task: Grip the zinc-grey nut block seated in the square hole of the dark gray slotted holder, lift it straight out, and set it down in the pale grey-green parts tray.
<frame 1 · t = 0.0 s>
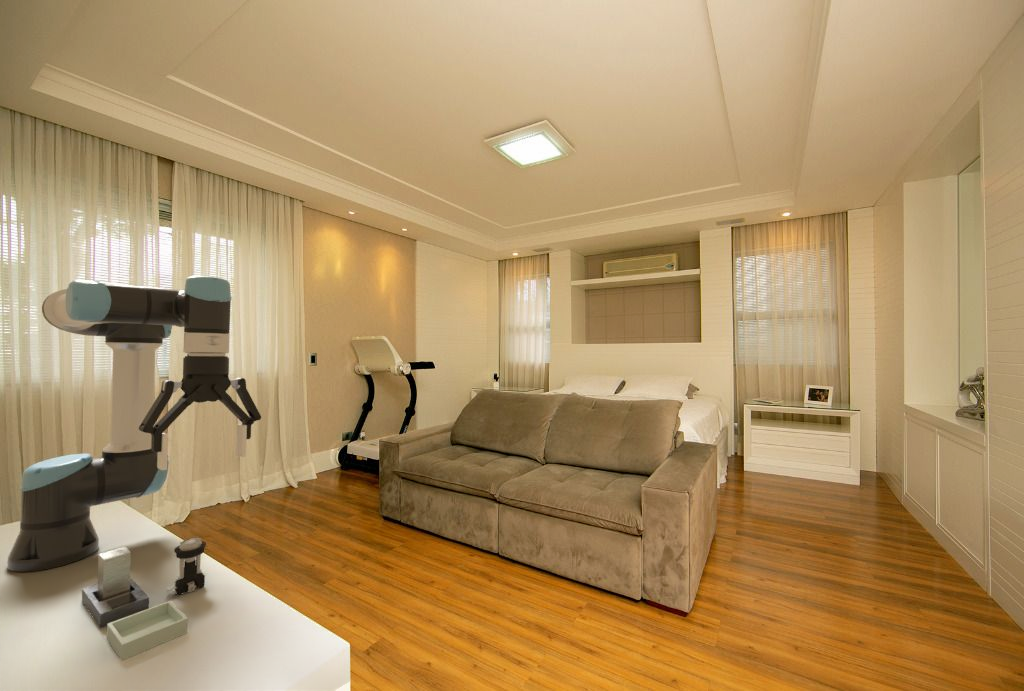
hand: (204, 461, 88), 28 cm above the table, tool pointing down, fingers open, 13 cm apart
parts tray: (147, 635, 78), on the table
push button: (185, 591, 92), on the table
nut block: (113, 604, 87), resting in dark gray slotted holder
dark gray slotted holder: (114, 605, 86), on the table
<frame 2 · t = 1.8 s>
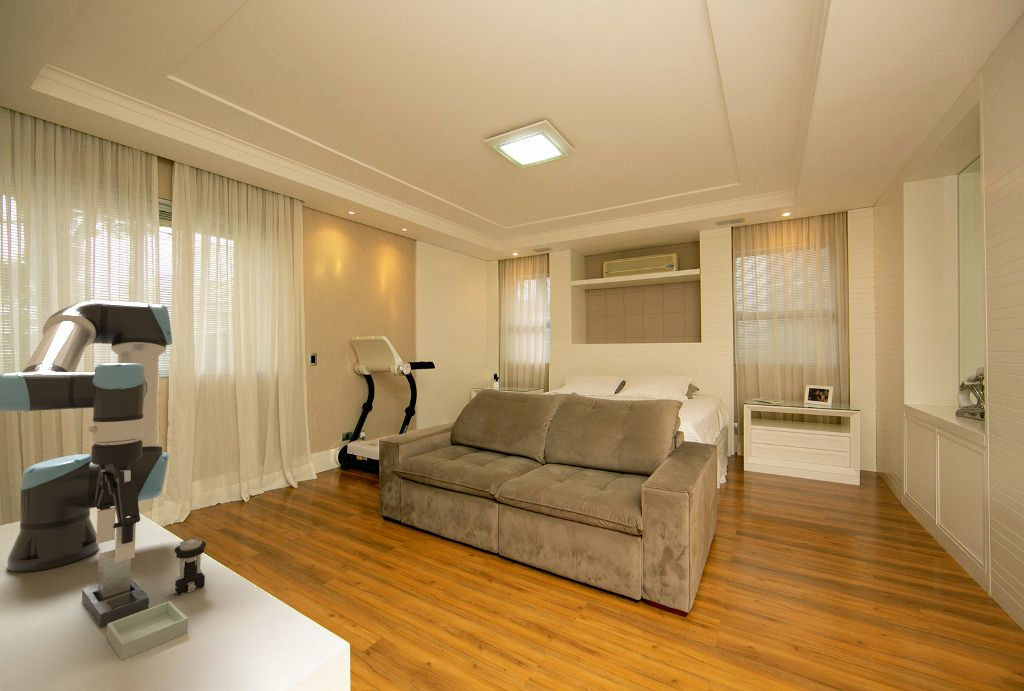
hand: (114, 550, 87), 11 cm above the table, tool pointing down, fingers open, 13 cm apart
nothing on the table moved.
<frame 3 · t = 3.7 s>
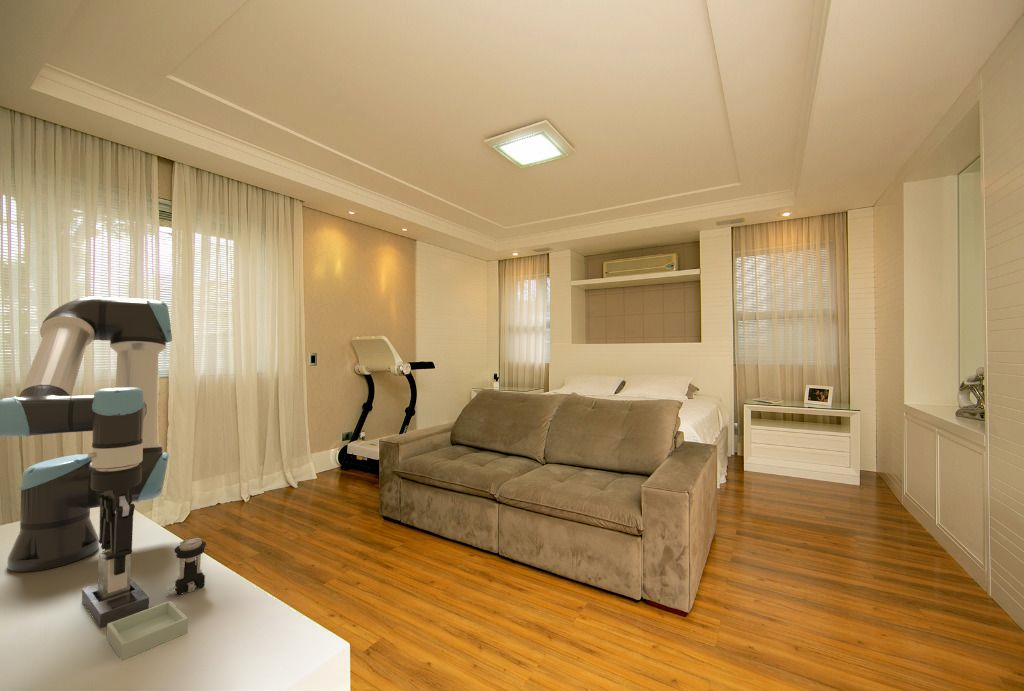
hand: (114, 585, 87), 4 cm above the table, tool pointing down, fingers closed on nut block, 4 cm apart
nut block: (113, 604, 87), resting in dark gray slotted holder, touching gripper
everything else where it was.
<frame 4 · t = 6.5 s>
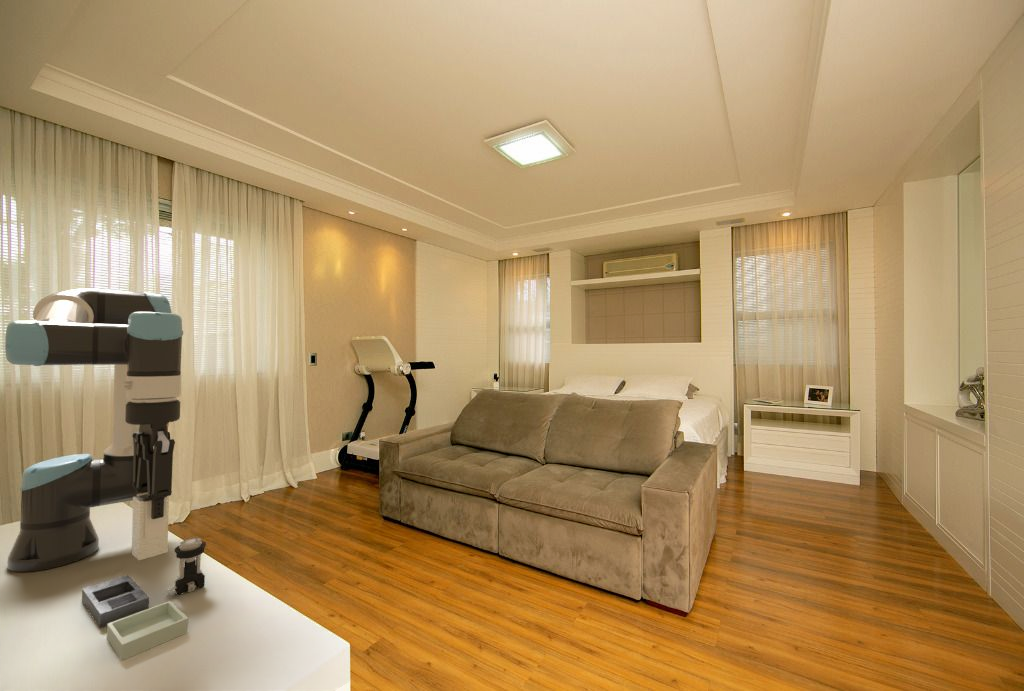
hand: (150, 532, 78), 18 cm above the table, tool pointing down, fingers closed on nut block, 4 cm apart
nut block: (149, 552, 78), point 14 cm above the table, touching gripper
everything else where it was.
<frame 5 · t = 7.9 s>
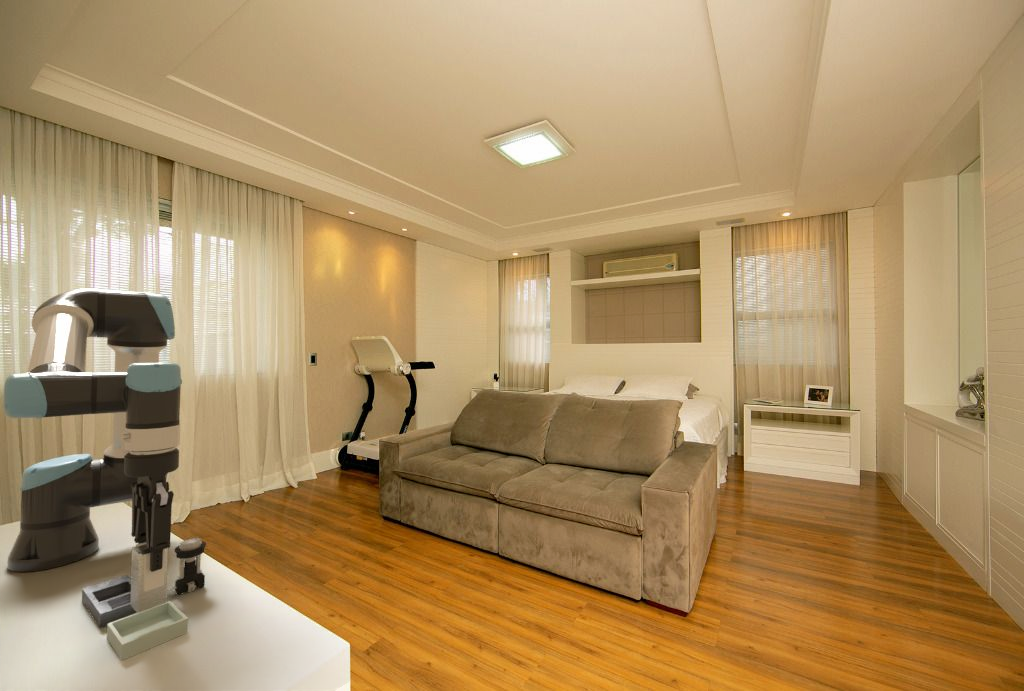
hand: (149, 583, 78), 9 cm above the table, tool pointing down, fingers closed on nut block, 4 cm apart
nut block: (148, 603, 78), point 6 cm above the table, touching gripper
everything else where it was.
when the fingers open (5 cm above the table, at t = 9.3 s): nut block drops 1 cm, resting on parts tray.
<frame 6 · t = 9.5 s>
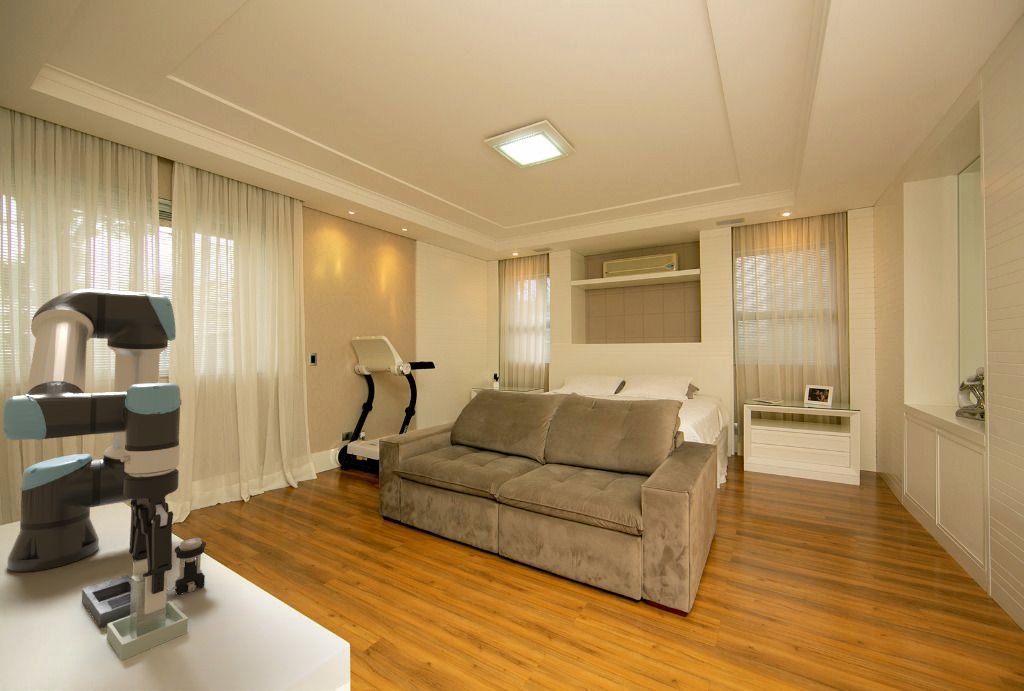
hand: (148, 602, 78), 6 cm above the table, tool pointing down, fingers open, 6 cm apart
nut block: (147, 632, 78), resting on parts tray
everything else where it was.
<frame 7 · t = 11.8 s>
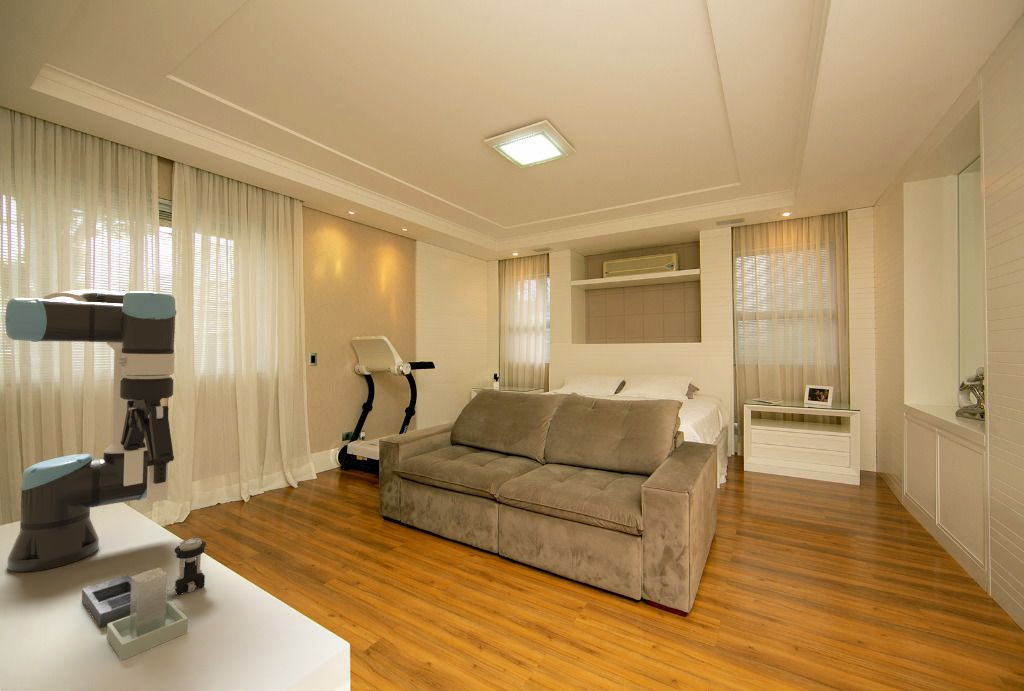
hand: (144, 492, 81), 24 cm above the table, tool pointing down, fingers open, 13 cm apart
nothing on the table moved.
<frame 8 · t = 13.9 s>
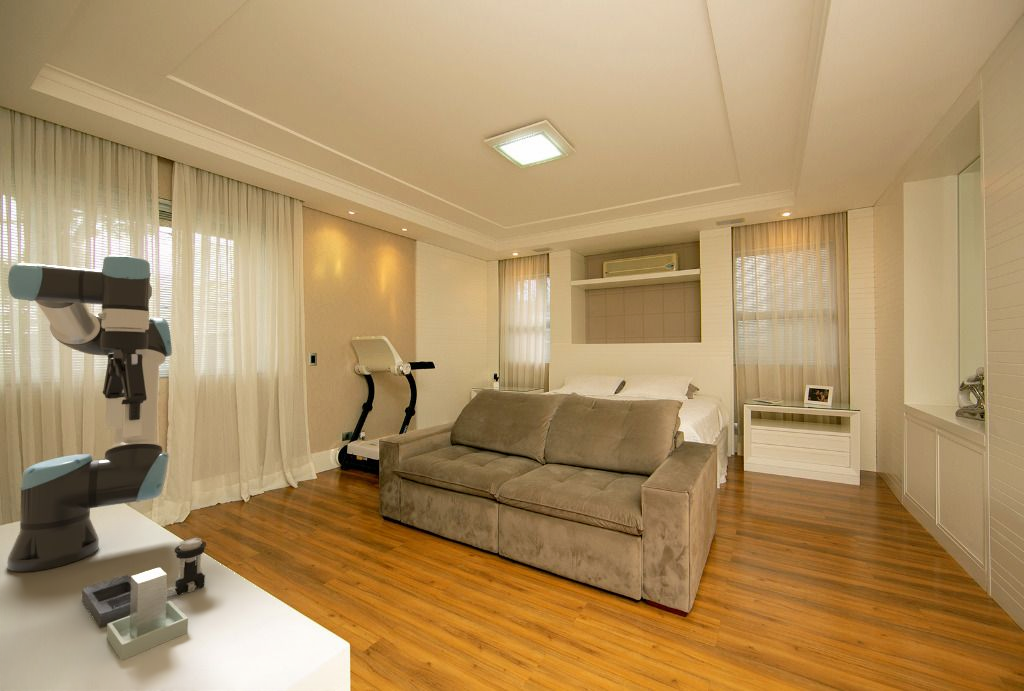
hand: (122, 432, 92), 33 cm above the table, tool pointing down, fingers open, 13 cm apart
nothing on the table moved.
at the end: nut block inside the target area on the parts tray (0.0 cm from its centre), point 0.5 cm above the parts tray's base; nut block tilted 0°; the gripper is holding nothing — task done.
